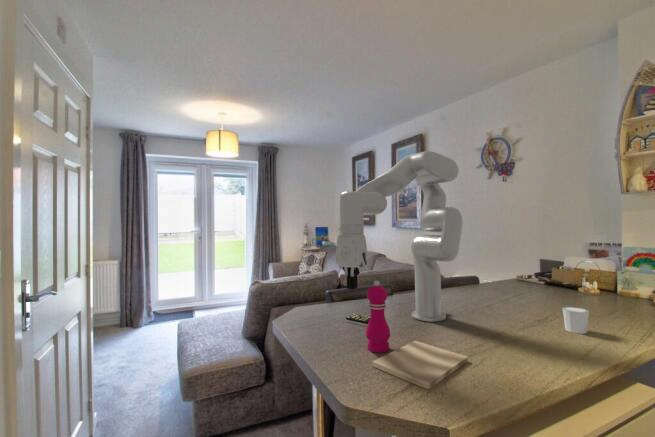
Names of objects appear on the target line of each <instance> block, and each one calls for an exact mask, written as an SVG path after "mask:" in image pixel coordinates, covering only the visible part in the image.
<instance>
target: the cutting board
mask: <svg viewBox="0 0 655 437" xmlns="http://www.w3.org/2000/svg"><path fill="white" fill-rule="evenodd" d="M468 362H469V357H468V356H466V355H464V354H460V353H457V352H453V351H451V350H446V349H444V348H440V347H436V346H433V345H430V344H427V343H424V342H421V341H418V340H413V341H412V342H409V343H407V344H405V345H403V346H401V347H399V348H397V349H395V350H393V351H390V352H389V353H387V354H385V355H383V356H380V357H379V358H376V359H375V360H373V361H372V362H371V364H372V366H371V367H374V368H375V369H378V370H380V371H383V372H385V373H387V374H390V375H392V376H394V377H397V378H399V379H402V380H404V381H406V382H409V383H412V384H413V385H416V386H418V387H421V388H422V389H426V390H430V389H432V388H433V387H435V386H436V385H437V384H439V383H440V382H442V381H443V380H444V379H446V378H447V377H449V376H450V375H451V374H452V373H453V372H456V370H458V369H459V368H461V367H462V366H464V365H465V364H466V363H468Z"/></svg>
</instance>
